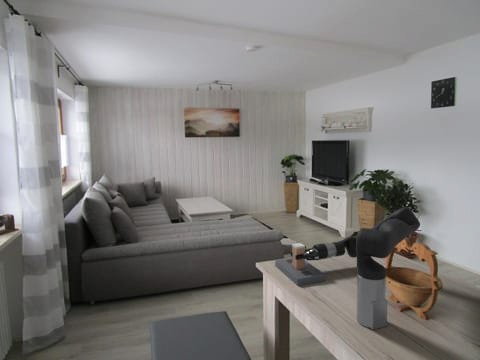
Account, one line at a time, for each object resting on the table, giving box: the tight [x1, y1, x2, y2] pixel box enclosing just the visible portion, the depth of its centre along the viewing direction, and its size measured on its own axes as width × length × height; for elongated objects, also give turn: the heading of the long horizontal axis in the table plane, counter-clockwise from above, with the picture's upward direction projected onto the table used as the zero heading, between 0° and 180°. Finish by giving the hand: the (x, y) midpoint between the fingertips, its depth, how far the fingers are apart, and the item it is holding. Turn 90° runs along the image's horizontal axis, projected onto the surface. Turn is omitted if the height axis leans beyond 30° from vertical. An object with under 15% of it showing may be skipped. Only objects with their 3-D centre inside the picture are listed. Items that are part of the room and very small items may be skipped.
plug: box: [291, 242, 306, 270], centre depth 155 cm, size 4×4×14 cm
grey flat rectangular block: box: [274, 257, 326, 287], centre depth 156 cm, size 24×14×3 cm, turn 17°
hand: (293, 255), depth 154 cm, fingers closed on plug, 4 cm apart
